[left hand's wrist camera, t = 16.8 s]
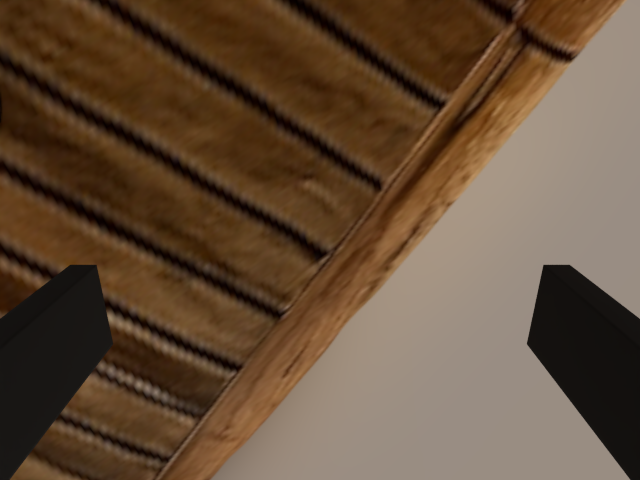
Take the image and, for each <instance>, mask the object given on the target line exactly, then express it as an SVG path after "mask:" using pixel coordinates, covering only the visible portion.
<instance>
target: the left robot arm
mask: <svg viewBox="0 0 640 480" xmlns="http://www.w3.org/2000/svg"><path fill="white" fill-rule="evenodd" d="M0 121H1V102H0ZM112 345H113V341H112V337H111V332H110V327H109V322H108V317H107V313H106V308H105V303H104V298H103V294H102V289H101V284H100V279H99V275H98V270H97V265H70V266H68V267H67V268H66V269H64V270H63V271H62V272H61V273H59V274H58V275H57V276H55V277H54V278H53V279H51V280H50V281H49V282H48V283H46V284H45V285H44V286H42V287H41V288H40V289H38V290H37V291H36V292H35V293H33V294H32V295H31V296H29V297H28V298H27V299H25V300H24V301H23V302H22V303H20V304H19V305H18V306H16V307H15V308H14V309H12V310H11V311H10V312H9V313H7V314H6V315H5V316H3V317H2V318H1V319H0V480H10V478H11V477H12V476H13V474H14V473H15V472H16V471H17V469H18V468H19V467H20V465H21V464H22V463H23V461H24V460H25V459H26V457H27V456H28V455H29V453H30V452H31V451H32V450H33V448H34V447H35V446H36V444H37V443H38V442H39V440H40V439H41V438H42V436H43V435H44V434H45V433H46V431H47V430H48V429H49V427H50V426H51V425H52V423H53V422H54V421H55V419H56V418H57V417H58V416H59V414H60V413H61V412H62V410H63V409H64V408H65V406H66V405H67V404H68V402H69V401H70V400H71V398H72V397H73V396H74V395H75V393H76V392H77V391H78V389H79V388H80V387H81V385H82V384H83V383H84V381H85V380H86V379H87V378H88V376H89V375H90V374H91V372H92V371H93V370H94V368H95V367H96V366H97V364H98V363H99V362H100V360H101V359H102V358H103V357H104V355H105V354H106V353H107V351H108V350H109V349H110V347H111V346H112ZM527 345H528V346H529V347H530V349H531V350H532V351H533V353H534V354H535V355H536V357H537V358H538V359H539V360H540V362H541V363H542V364H543V366H544V367H545V368H546V370H547V371H548V372H549V374H550V375H551V376H552V378H553V379H554V380H555V381H556V383H557V384H558V385H559V387H560V388H561V389H562V391H563V392H564V393H565V395H566V396H567V397H568V398H569V400H570V401H571V402H572V404H573V405H574V406H575V408H576V409H577V410H578V412H579V413H580V414H581V416H582V417H583V418H584V419H585V421H586V422H587V423H588V425H589V426H590V427H591V429H592V430H593V431H594V433H595V434H596V435H597V436H598V438H599V439H600V440H601V442H602V443H603V444H604V446H605V447H606V448H607V450H608V451H609V452H610V453H611V455H612V456H613V457H614V459H615V460H616V461H617V463H618V464H619V465H620V467H621V468H622V469H623V470H624V472H625V473H626V474H627V476H628V477H629V478H630V480H640V319H639V318H638V317H637V316H635V315H634V314H633V313H631V312H630V311H629V310H628V309H626V308H625V307H624V306H622V305H621V304H620V303H618V302H617V301H616V300H615V299H613V298H612V297H611V296H609V295H608V294H607V293H605V292H604V291H603V290H601V289H600V288H599V287H598V286H596V285H595V284H594V283H592V282H591V281H590V280H589V279H587V278H586V277H585V276H583V275H582V274H581V273H579V272H578V271H577V270H576V269H574V268H573V267H572V266H570V265H543V270H542V275H541V279H540V284H539V289H538V294H537V299H536V303H535V308H534V313H533V317H532V322H531V327H530V332H529V337H528V341H527Z"/></svg>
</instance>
